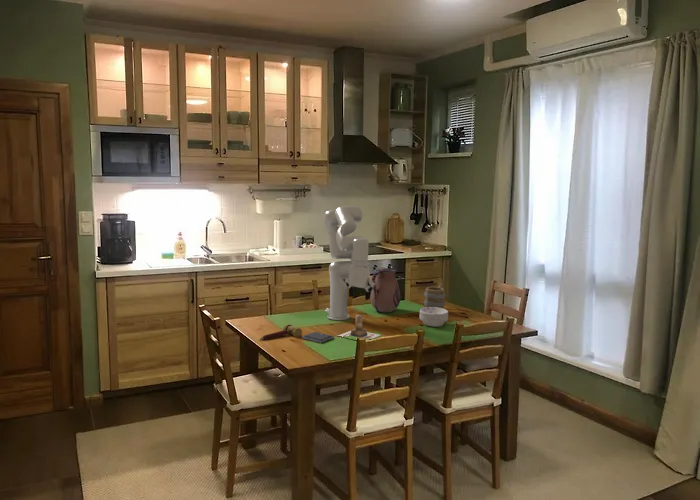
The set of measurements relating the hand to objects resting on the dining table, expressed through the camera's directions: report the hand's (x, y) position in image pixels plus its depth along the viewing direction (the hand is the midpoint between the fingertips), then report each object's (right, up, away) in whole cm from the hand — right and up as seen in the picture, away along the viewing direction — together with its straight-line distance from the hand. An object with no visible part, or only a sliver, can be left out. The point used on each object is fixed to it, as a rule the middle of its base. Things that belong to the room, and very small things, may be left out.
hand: (359, 297), depth 278 cm
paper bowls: (+40, -17, +26) cm, 51 cm away
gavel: (-40, -20, -1) cm, 44 cm away
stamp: (0, -19, +2) cm, 19 cm away
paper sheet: (0, -19, +2) cm, 19 cm away
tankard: (+47, -13, +57) cm, 75 cm away
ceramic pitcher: (+15, -13, +53) cm, 56 cm away
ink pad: (-20, -20, -3) cm, 28 cm away
